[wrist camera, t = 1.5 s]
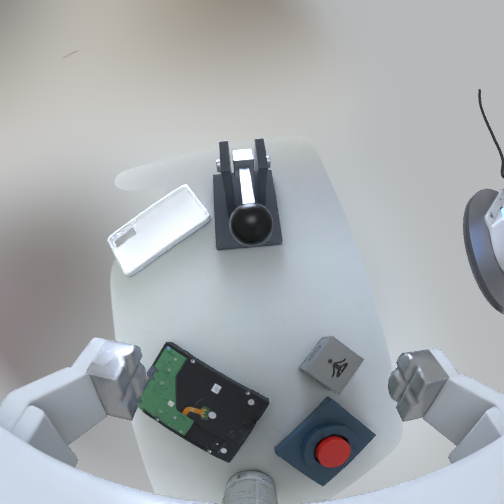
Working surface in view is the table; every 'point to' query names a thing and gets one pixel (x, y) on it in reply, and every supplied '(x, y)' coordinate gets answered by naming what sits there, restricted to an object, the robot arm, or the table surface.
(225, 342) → the table surface
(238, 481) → the spray can
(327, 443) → the button
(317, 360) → the dice cube
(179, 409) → the disk drive
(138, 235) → the phone case
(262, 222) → the lever
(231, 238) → the bracket
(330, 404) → the button box
